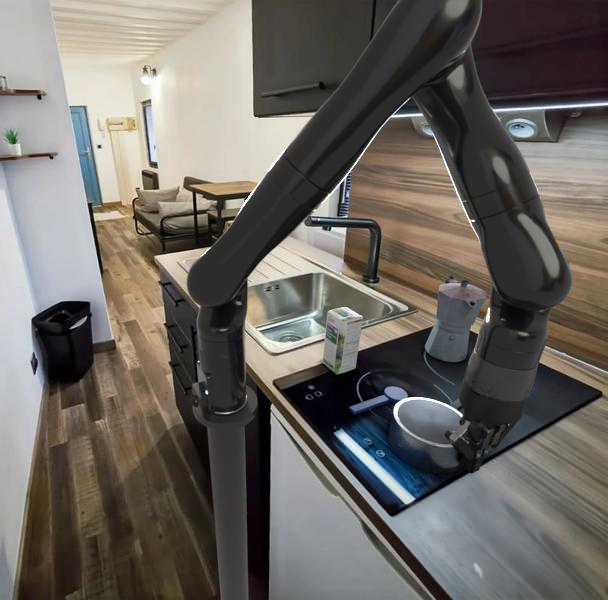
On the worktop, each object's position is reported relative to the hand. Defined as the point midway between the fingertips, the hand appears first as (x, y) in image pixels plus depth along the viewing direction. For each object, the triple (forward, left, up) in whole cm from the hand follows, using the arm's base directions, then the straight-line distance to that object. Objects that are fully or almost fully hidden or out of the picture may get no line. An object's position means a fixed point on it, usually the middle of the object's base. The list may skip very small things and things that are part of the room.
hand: (468, 468), depth 59 cm
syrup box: (+1, +33, -2) cm, 33 cm away
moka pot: (+28, +27, -2) cm, 39 cm away
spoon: (0, +19, -2) cm, 19 cm away
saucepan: (+2, +8, -2) cm, 8 cm away
